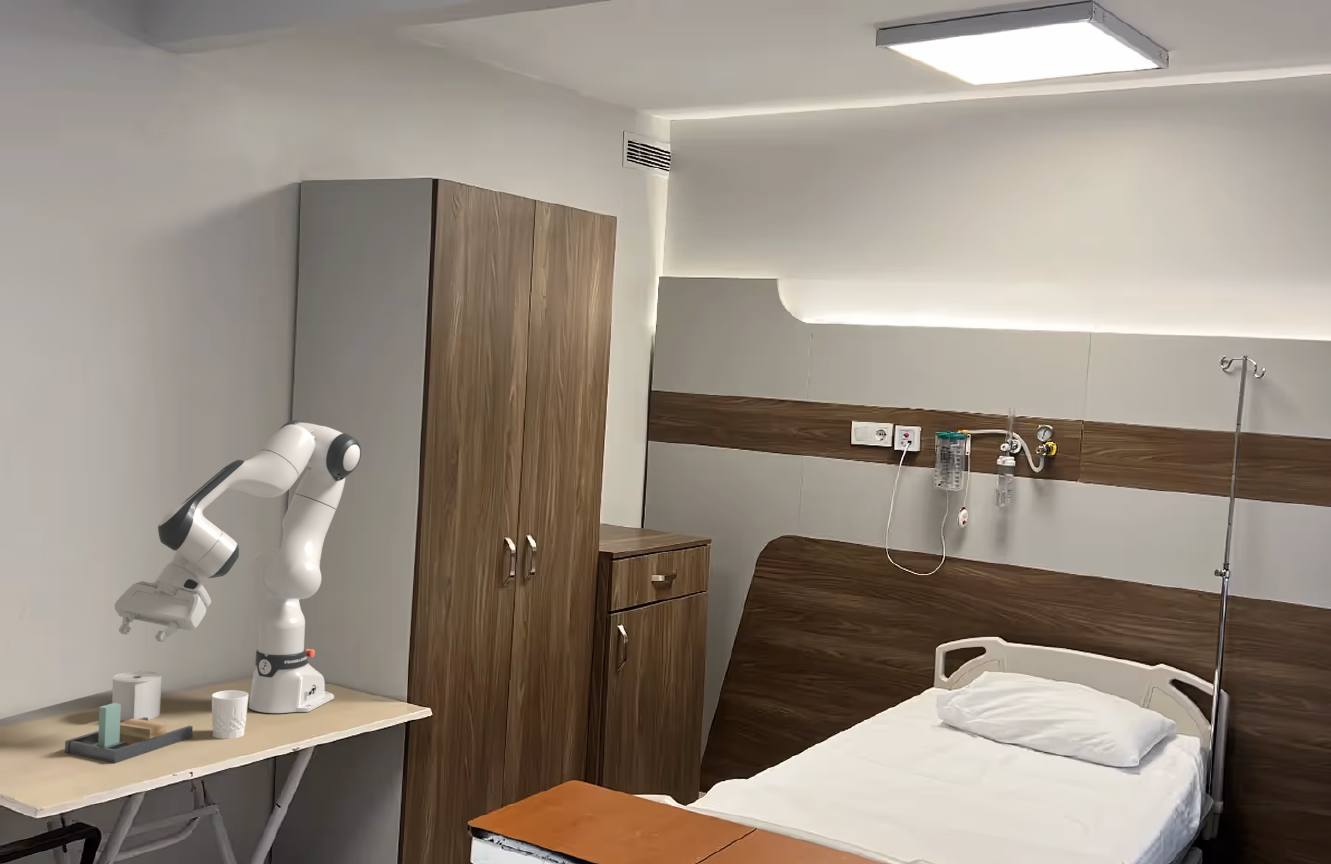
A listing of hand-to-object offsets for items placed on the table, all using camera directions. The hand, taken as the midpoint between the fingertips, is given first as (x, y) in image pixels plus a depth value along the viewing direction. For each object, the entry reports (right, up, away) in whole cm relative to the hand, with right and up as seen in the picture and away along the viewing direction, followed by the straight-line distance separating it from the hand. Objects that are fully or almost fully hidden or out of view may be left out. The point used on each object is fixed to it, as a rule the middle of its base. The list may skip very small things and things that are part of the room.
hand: (140, 636), depth 268 cm
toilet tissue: (-10, -23, +22) cm, 33 cm away
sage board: (-4, -24, -7) cm, 25 cm away
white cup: (+16, -25, +10) cm, 31 cm away
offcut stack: (-1, -23, +2) cm, 24 cm away
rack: (-2, -24, -1) cm, 24 cm away
